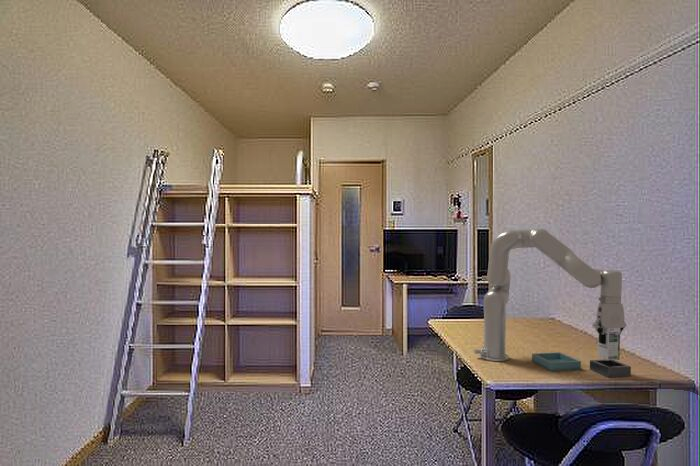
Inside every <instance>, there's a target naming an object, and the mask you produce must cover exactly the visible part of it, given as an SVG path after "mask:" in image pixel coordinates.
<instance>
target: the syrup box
mask: <svg viewBox="0 0 700 466" xmlns="http://www.w3.org/2000/svg"><path fill="white" fill-rule="evenodd" d="M602 329H603V328H602ZM597 334H598V337H597V342H598V343H597V357H598V358H600V359H601V360H603V359H605V360H615V361H620V357H621V356H620V350H621V348H620V347H621V346H620V345H621V334H620V328H606V331H605V335H606V344H602V343H599V333H598V332H597Z"/></svg>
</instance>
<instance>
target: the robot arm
mask: <svg viewBox="0 0 700 466" xmlns="http://www.w3.org/2000/svg"><path fill="white" fill-rule="evenodd" d="M525 248H536V249H537V250H538V251H540V253H542V254H543V255H545V256H546V257H547V258H548V259H549V260H551V261H553V263H554V264H555V265H557V266H558V267H560V268H561V269H562V270H564V271H565V272H566V273H567V274H569V275H570V276H571V277H572V278H574V279H575V280H576V281H577V282H579V283H580V284H581V285H583V286H584V287H586V288H588V289H595V288H597V287H599V286H600V297H598V301H600V302H598V306H597V311H596V320H595V321H594V322H593V324H592V328H594V329H595V331H596V332H597V334H598V333H599V343H602V344H606V335H605V331H606V328H620V335H621V334H622V332H623V331H624V329H625V328H626V327H627V323H626V322H625V309H624V306H623V305H624V304H623V303H622V288H623V287H622V285H623V274H622V272H621V271H619V270H611V269H607V270H605V269H603V270H602V269H596V268H592V267H591V266H590V265H588V264H587V263H586V262H584V261H583V260H582V259H581V258H580V257H579V256H577V255H576V254H575V253H574V251H573V250H572V249H571V248H569V246H567V245H565V244H564V243H563V242H561V241H560V240H559V239H558V238H556V237H555V236H553V235H552V234H551V233H550V232H549V231H548V230H547V229H546V228H545V229H544V228H531V229H512V230H511V229H510V230H507V231H504V232H502V233H500V234H499V235H497V236H495V238H494V239H493V241H492V242H491V244H490V250H489V257H488V258H489V259H488V265H487V267H488V268H487V274H486V278H487V282H488V291H487V292H486V293H485V294H484V296H483V316H484V317H483V346H481V348H480V349H473V353H474V354H475V355H476V354H477V355H478V354H479V355H480V358H481V359H482V360H486V361H491V362H506V361H508V360H509V359H510V356H509V355H508V354H506V341H507V340H506V335H507V334H506V333H507V332H506V330H507V329H506V328H507V320H506V319H507V315H506V313H507V312H506V305H507V303H508V301H509V297H510V287H511V286H510V285H511V273H510V270H509V268H508V267H509V255H510V252H511V250H513V249H514V250H515V249H525ZM602 328H603V329H602Z"/></svg>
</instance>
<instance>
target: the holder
mask: <svg viewBox="0 0 700 466" xmlns="http://www.w3.org/2000/svg"><path fill="white" fill-rule="evenodd" d="M589 370H590V371H592V372H595V373H597V374H599V375H601V376H603V377H606V378H609V379H610V378H623V377H625V378H628V377H631V376H632V374H631V372H632V367H631V366H630V365H628V364H626V363H622V362H620V361H619V360H605V359H590V360H589Z"/></svg>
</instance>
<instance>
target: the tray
mask: <svg viewBox="0 0 700 466" xmlns="http://www.w3.org/2000/svg"><path fill="white" fill-rule="evenodd" d="M531 362H533V363H534V364H537V365H538V366H540V367H542V368H544V369H546V370H548V371H551V372H562V371H564V372H565V371H577V370H578V371H580V370H581V369H582V368H581V367H582V362H581V360H579V359H577V358H575V357H572V356H570V355H567V354H565V353H562V352H559V351H558V352H540V353H539V352H538V353H531Z"/></svg>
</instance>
